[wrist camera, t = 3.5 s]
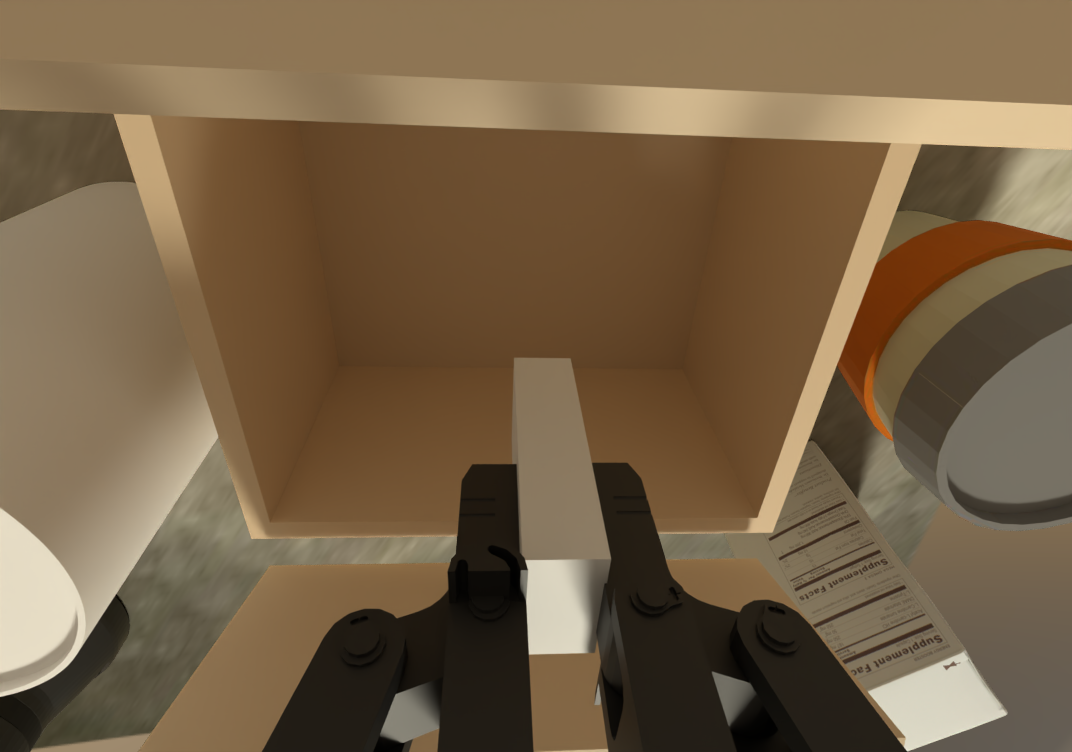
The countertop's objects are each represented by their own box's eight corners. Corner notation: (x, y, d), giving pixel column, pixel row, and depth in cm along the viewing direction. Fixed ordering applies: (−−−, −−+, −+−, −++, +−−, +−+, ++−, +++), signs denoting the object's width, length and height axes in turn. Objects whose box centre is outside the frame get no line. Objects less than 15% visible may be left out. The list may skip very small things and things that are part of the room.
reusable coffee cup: (983, 328, 38) (1219, 486, 26) (795, 389, 40) (929, 564, 28) (993, 143, 32) (1317, 234, 19) (768, 227, 34) (928, 359, 21)
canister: (69, 126, 29) (-527, 294, 12) (319, 275, 34) (143, 540, 17) (6, 321, 34) (-466, 623, 18) (229, 424, 39) (28, 737, 22)
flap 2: (269, 565, 25) (270, 577, 25) (126, 767, 15) (130, 785, 16) (756, 558, 27) (755, 569, 27) (905, 737, 17) (902, 754, 17)
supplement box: (704, 495, 45) (797, 716, 31) (812, 435, 43) (967, 648, 29) (758, 555, 50) (861, 773, 36) (859, 504, 47) (1015, 719, 33)
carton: (329, 371, 37) (251, 538, 26) (254, -48, 25) (45, -94, 14) (690, 373, 39) (772, 532, 27) (778, -19, 27) (990, -36, 15)
